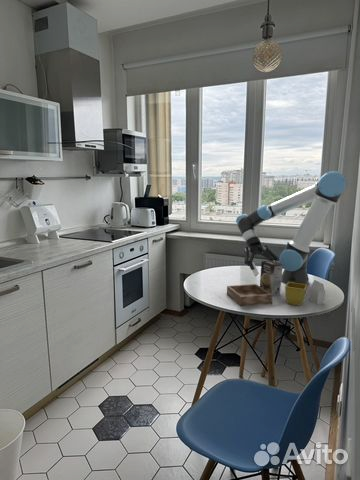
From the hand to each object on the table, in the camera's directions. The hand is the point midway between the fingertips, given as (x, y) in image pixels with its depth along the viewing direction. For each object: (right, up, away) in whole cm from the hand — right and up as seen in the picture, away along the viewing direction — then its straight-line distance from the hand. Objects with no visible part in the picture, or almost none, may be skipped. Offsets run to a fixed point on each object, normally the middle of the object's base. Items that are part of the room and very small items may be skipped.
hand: (267, 273), depth 168 cm
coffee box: (+1, -10, +1) cm, 10 cm away
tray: (-12, -11, -9) cm, 19 cm away
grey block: (+21, -13, -10) cm, 26 cm away
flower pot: (+9, -13, -13) cm, 21 cm away
